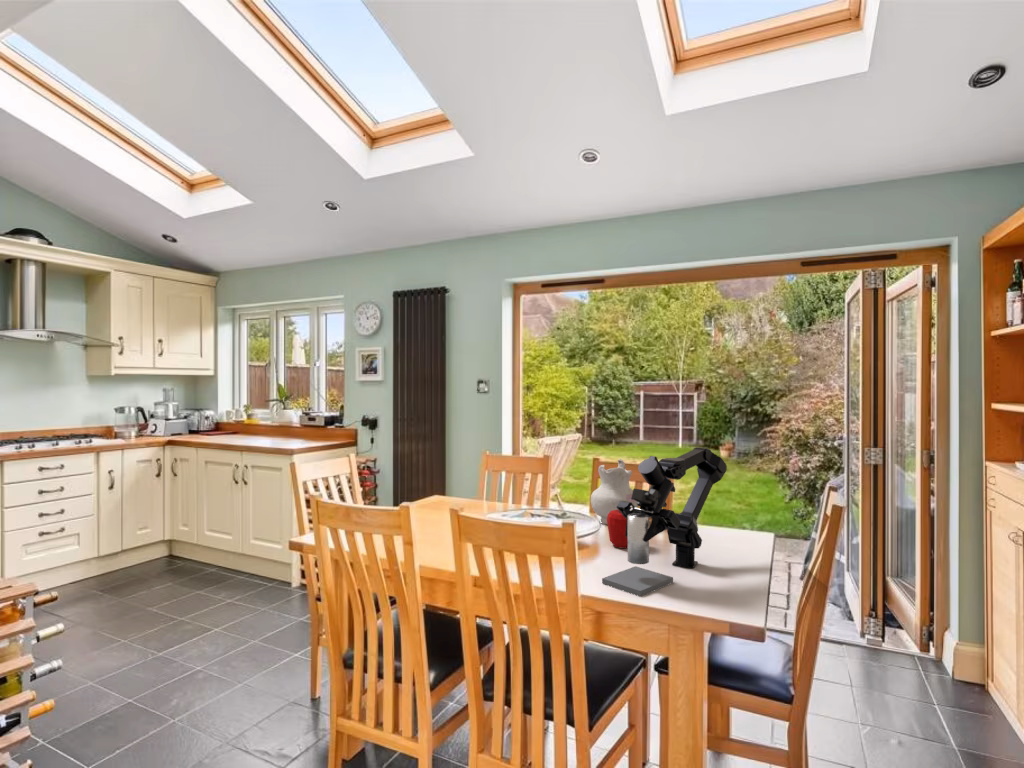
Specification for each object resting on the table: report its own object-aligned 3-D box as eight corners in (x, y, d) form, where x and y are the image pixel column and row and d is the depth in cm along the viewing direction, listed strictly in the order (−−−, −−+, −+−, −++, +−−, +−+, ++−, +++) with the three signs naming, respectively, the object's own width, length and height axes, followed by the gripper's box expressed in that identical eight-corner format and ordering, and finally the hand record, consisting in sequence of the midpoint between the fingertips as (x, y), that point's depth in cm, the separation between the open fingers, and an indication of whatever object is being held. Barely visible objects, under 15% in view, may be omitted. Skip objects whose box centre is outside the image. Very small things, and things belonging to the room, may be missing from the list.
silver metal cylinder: (641, 556, 166) (641, 511, 166) (653, 562, 161) (653, 516, 160) (623, 558, 164) (623, 513, 164) (634, 565, 159) (634, 518, 159)
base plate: (635, 571, 173) (635, 566, 173) (673, 582, 163) (673, 577, 163) (602, 583, 162) (602, 578, 162) (640, 596, 152) (640, 591, 152)
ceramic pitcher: (596, 516, 247) (591, 459, 247) (641, 515, 241) (637, 457, 242) (589, 529, 226) (585, 466, 226) (639, 528, 221) (634, 465, 221)
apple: (635, 542, 203) (635, 504, 203) (639, 551, 193) (639, 511, 193) (605, 541, 204) (606, 503, 204) (607, 550, 194) (608, 510, 194)
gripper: (620, 473, 172) (597, 516, 165) (674, 482, 158) (651, 529, 151) (635, 496, 177) (613, 538, 170) (689, 506, 163) (668, 552, 156)
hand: (635, 538), depth 161 cm, fingers closed on silver metal cylinder, 6 cm apart
